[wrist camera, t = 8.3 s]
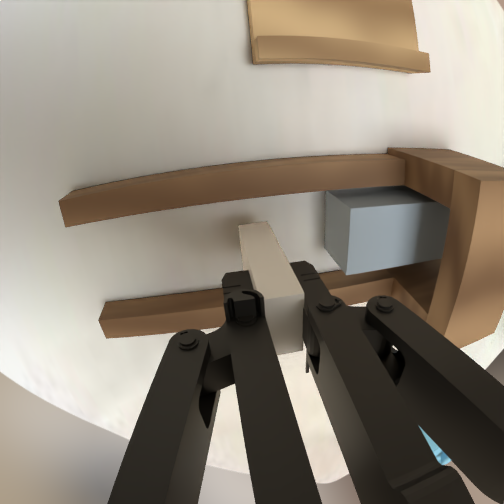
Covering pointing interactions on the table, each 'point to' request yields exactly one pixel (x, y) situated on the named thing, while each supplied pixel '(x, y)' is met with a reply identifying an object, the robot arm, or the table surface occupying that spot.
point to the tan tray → (337, 33)
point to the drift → (383, 228)
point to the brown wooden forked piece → (340, 285)
